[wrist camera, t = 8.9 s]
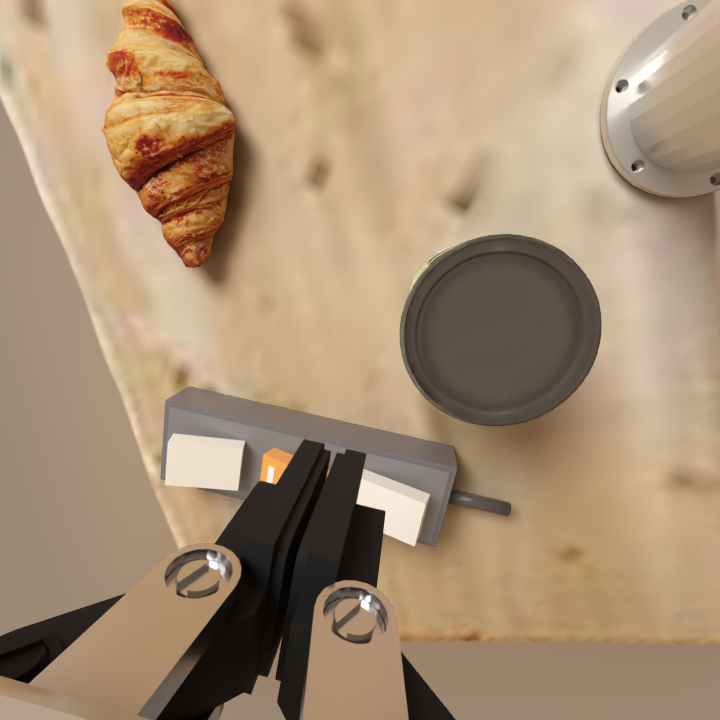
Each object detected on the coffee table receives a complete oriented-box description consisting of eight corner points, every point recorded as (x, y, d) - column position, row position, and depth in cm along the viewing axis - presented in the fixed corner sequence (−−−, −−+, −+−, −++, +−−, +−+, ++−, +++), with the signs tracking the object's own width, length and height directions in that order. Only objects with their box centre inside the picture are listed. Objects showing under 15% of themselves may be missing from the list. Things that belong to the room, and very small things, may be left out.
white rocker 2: (430, 494, 34) (425, 504, 33) (419, 535, 35) (414, 546, 34) (363, 468, 36) (355, 476, 35) (354, 508, 37) (347, 517, 36)
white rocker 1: (245, 440, 37) (242, 449, 35) (240, 480, 38) (237, 490, 36) (173, 433, 36) (167, 442, 34) (170, 474, 37) (165, 484, 35)
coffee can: (473, 213, 34) (510, 187, 20) (557, 306, 35) (646, 340, 21) (381, 302, 37) (360, 332, 23) (461, 386, 37) (486, 461, 24)
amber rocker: (334, 472, 35) (325, 481, 33) (326, 513, 36) (317, 523, 34) (274, 447, 37) (262, 454, 35) (268, 486, 38) (257, 495, 36)
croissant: (154, 23, 37) (48, -20, 30) (225, -38, 31) (112, -107, 25) (201, 269, 41) (117, 276, 35) (271, 258, 35) (184, 263, 29)
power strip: (516, 460, 38) (528, 485, 34) (493, 533, 41) (501, 565, 36) (189, 386, 41) (163, 401, 37) (183, 458, 43) (158, 480, 39)
